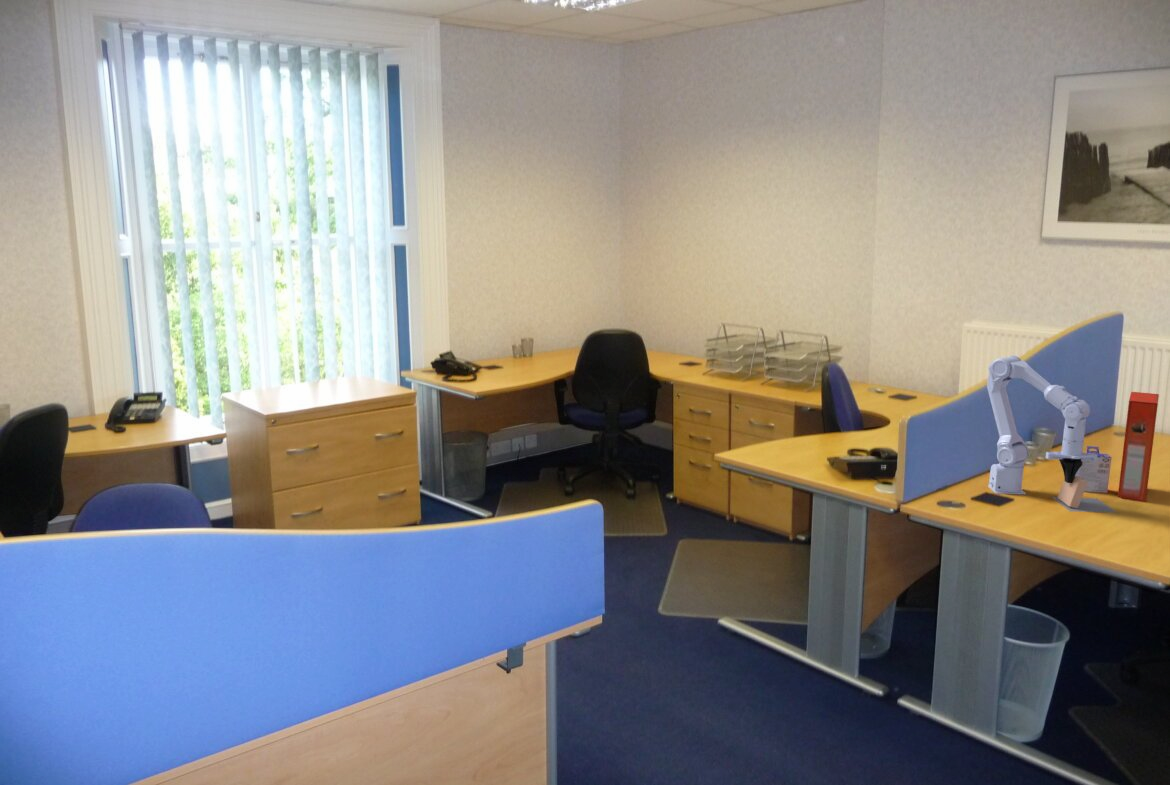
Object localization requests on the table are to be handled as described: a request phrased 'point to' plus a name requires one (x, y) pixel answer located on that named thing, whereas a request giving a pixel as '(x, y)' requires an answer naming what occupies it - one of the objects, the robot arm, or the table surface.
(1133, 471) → the file binder
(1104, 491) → the ink cartridge box
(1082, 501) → the desk mat
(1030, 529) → the table surface
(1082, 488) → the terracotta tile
